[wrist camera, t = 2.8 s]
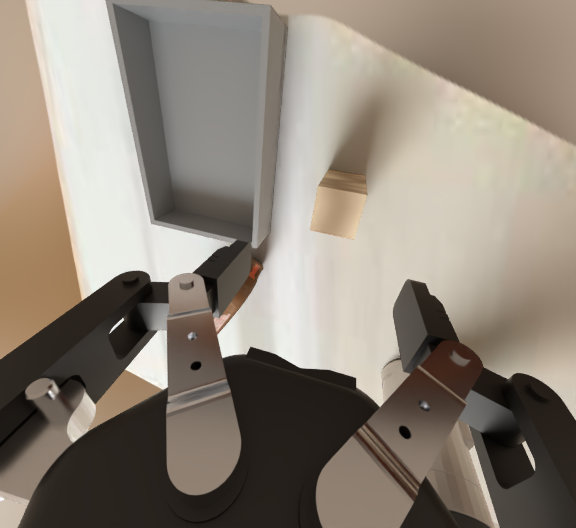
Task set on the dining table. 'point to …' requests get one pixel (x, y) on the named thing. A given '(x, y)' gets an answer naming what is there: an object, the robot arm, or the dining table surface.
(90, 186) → the dining table surface
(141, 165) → the bin
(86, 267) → the dining table surface
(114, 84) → the dining table surface
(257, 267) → the tin
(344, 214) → the wooden block
